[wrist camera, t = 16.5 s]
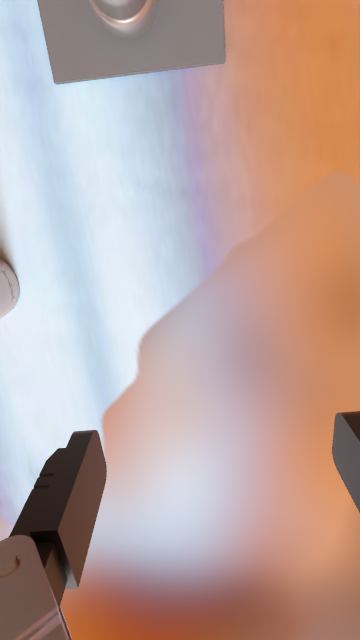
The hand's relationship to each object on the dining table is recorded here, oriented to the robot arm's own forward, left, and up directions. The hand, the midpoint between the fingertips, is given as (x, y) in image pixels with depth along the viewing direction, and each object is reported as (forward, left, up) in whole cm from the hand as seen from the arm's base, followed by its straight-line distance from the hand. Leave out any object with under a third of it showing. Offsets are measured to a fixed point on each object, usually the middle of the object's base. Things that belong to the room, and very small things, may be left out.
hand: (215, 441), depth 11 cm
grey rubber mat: (-4, +25, -34) cm, 42 cm away
